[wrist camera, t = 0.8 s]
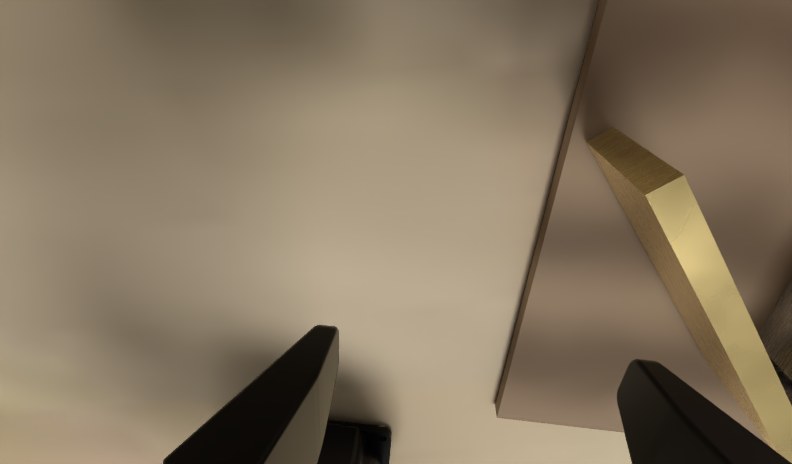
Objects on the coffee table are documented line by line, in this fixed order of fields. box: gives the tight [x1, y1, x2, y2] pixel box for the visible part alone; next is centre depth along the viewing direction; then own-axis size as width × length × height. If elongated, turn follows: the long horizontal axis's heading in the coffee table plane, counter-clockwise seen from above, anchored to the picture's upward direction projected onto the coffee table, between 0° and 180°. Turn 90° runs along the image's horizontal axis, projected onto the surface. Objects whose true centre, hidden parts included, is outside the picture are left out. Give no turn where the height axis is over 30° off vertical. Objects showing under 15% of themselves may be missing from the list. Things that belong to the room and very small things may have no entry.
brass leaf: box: [587, 127, 792, 463], centre depth 15 cm, size 13×1×5 cm, turn 36°
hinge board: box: [495, 0, 792, 446], centre depth 18 cm, size 22×18×1 cm
